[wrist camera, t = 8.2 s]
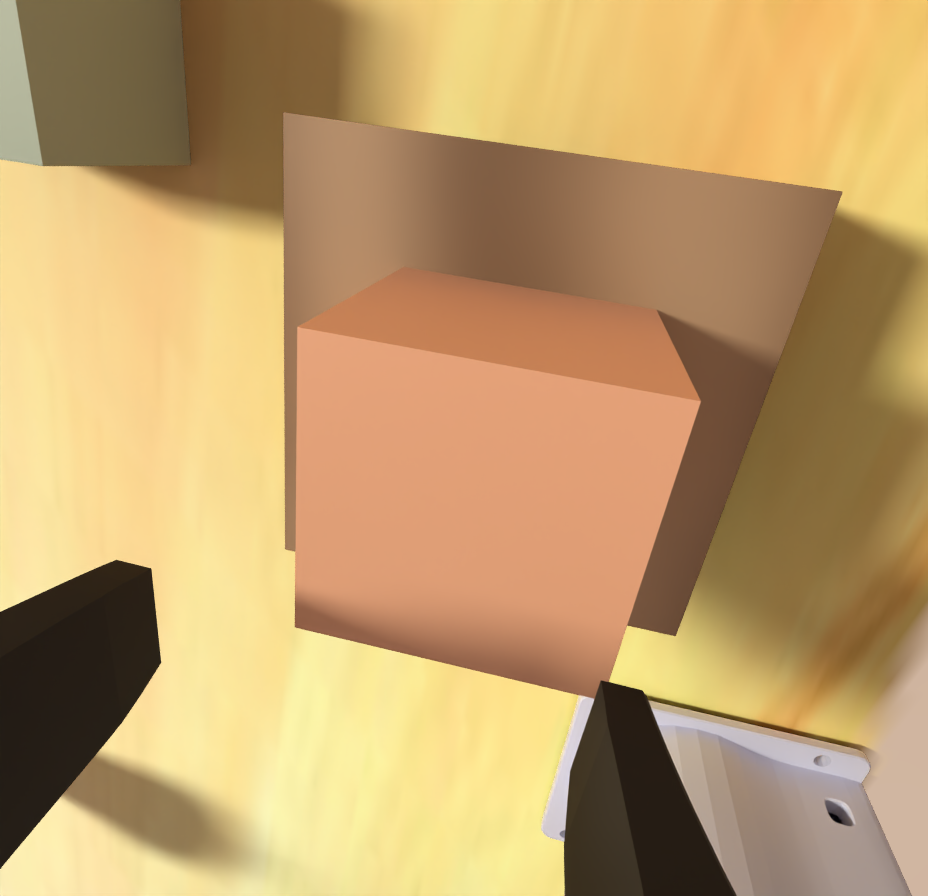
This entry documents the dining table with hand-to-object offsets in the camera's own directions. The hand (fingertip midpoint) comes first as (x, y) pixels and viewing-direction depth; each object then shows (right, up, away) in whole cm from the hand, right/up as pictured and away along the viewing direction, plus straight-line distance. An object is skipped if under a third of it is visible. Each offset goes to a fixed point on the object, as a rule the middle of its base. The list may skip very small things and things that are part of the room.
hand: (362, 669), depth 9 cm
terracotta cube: (+3, +4, +3) cm, 6 cm away
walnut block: (+3, +6, +7) cm, 10 cm away
